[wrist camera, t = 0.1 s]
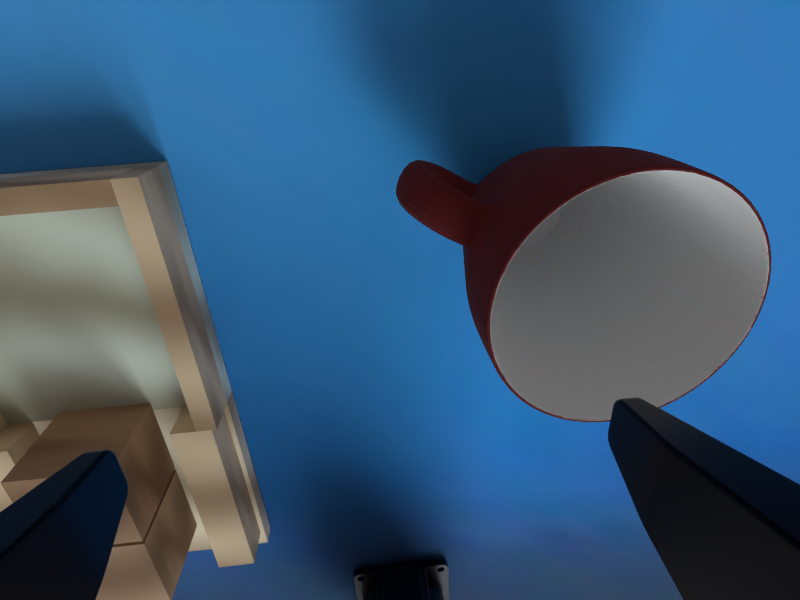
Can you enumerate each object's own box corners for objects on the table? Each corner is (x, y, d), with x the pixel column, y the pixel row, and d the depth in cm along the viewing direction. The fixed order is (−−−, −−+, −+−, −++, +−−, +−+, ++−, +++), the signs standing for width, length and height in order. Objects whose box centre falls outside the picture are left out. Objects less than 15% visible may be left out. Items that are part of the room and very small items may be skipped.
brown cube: (197, 524, 28) (170, 601, 24) (120, 533, 28) (81, 611, 24) (176, 470, 26) (143, 543, 22) (92, 479, 26) (45, 554, 22)
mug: (362, 255, 23) (365, 384, 14) (411, 74, 19) (457, 89, 10) (561, 303, 25) (675, 442, 16) (637, 146, 21) (836, 211, 12)
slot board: (270, 528, 31) (262, 573, 28) (78, 549, 30) (51, 597, 27) (167, 160, 20) (138, 176, 17) (-132, 184, 20) (-209, 204, 17)
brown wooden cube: (175, 467, 26) (142, 541, 22) (91, 476, 26) (43, 552, 22) (150, 403, 24) (109, 471, 20) (59, 412, 24) (0, 483, 20)
